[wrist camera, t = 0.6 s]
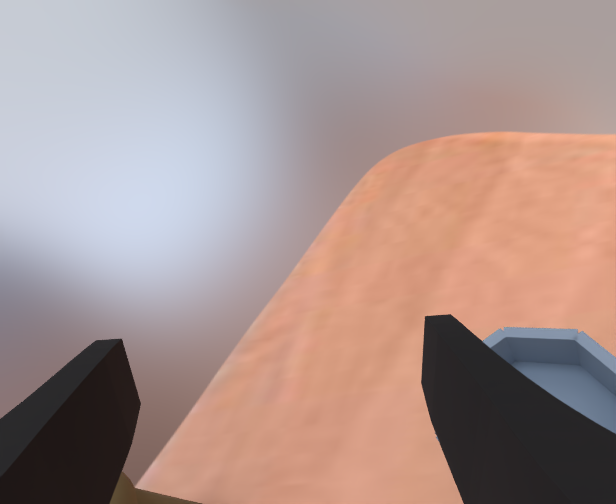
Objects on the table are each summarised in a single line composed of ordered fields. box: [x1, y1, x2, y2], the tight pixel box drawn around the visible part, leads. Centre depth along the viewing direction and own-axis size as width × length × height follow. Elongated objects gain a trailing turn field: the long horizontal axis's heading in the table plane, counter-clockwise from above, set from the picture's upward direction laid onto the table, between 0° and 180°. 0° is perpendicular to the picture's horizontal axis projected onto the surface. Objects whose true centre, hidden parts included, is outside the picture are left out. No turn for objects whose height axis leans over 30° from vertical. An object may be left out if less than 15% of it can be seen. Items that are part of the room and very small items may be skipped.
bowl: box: [435, 327, 616, 441], centre depth 24 cm, size 9×9×4 cm
